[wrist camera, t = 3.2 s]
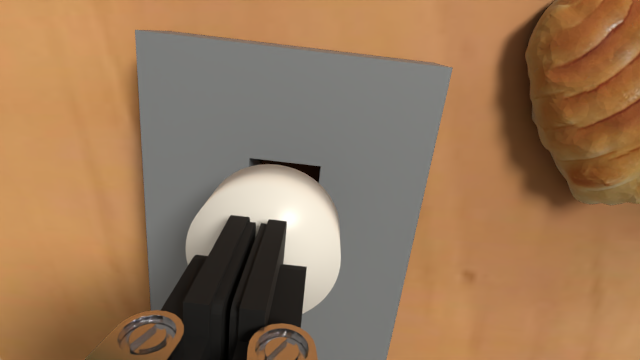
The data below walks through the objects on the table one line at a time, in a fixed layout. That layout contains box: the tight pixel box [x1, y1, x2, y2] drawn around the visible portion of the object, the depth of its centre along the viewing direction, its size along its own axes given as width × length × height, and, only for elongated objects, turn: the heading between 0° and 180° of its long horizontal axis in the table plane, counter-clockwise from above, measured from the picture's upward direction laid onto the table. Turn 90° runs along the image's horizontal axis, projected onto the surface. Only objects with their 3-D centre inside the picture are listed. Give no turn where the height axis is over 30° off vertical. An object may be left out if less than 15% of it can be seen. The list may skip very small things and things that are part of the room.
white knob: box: [185, 164, 341, 314], centre depth 14 cm, size 5×5×5 cm
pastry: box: [525, 0, 640, 205], centre depth 16 cm, size 9×7×4 cm
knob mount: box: [135, 30, 452, 360], centre depth 21 cm, size 12×32×3 cm, turn 174°
